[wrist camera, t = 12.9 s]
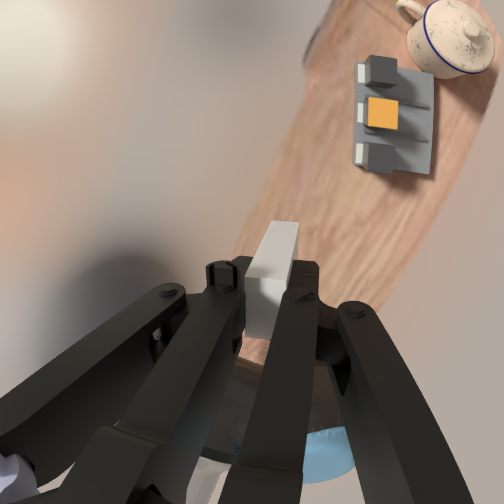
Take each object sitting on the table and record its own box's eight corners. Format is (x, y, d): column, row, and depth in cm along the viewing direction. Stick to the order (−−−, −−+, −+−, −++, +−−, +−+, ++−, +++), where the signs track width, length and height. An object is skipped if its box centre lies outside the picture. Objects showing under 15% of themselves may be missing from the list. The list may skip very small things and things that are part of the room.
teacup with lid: (474, 50, 26) (517, 34, 16) (447, 94, 30) (489, 88, 20) (403, -6, 26) (427, -41, 15) (373, 37, 30) (392, 8, 19)
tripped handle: (387, 128, 33) (397, 129, 28) (362, 125, 33) (368, 125, 29) (387, 103, 31) (398, 100, 27) (362, 100, 32) (369, 97, 27)
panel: (424, 171, 35) (441, 181, 30) (352, 163, 37) (358, 170, 31) (428, 76, 30) (446, 69, 24) (354, 64, 32) (360, 53, 26)
